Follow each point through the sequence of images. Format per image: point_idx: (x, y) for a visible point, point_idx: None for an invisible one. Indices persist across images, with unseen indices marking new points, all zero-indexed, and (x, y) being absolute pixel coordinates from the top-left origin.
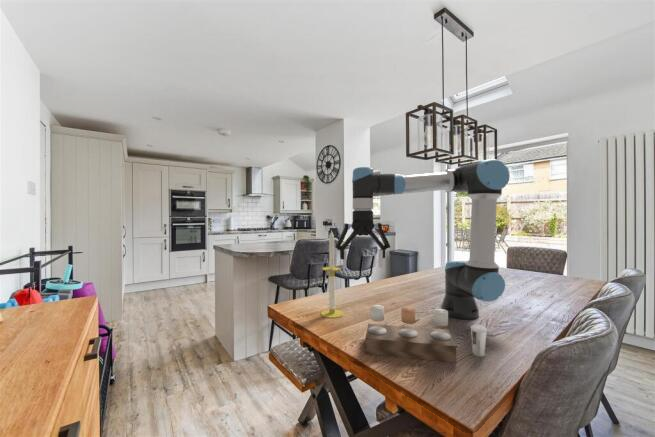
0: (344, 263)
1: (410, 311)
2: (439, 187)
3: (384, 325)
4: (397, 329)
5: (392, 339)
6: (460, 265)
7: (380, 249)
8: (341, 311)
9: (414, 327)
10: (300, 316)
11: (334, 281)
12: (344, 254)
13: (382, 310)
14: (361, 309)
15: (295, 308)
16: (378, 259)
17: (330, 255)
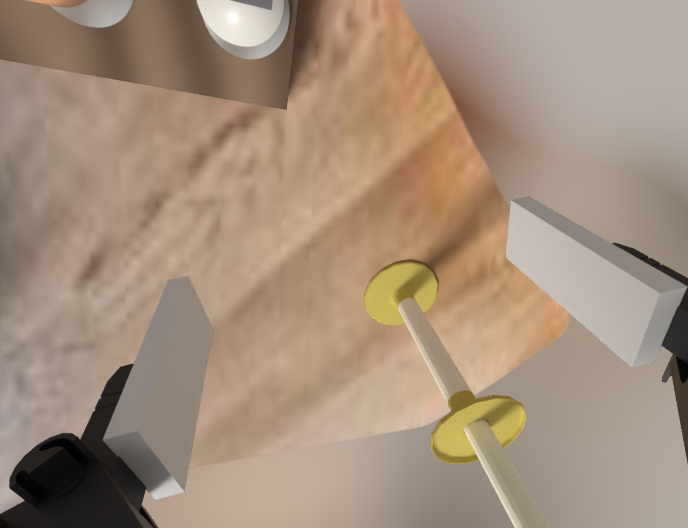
0: (561, 216)
1: None
2: None
3: (211, 88)
4: (145, 35)
5: None
6: None
7: (151, 482)
8: (370, 311)
9: (55, 63)
10: (501, 264)
11: (439, 378)
12: (641, 262)
13: None
14: (300, 341)
15: (508, 320)
16: (204, 377)
17: (530, 498)
